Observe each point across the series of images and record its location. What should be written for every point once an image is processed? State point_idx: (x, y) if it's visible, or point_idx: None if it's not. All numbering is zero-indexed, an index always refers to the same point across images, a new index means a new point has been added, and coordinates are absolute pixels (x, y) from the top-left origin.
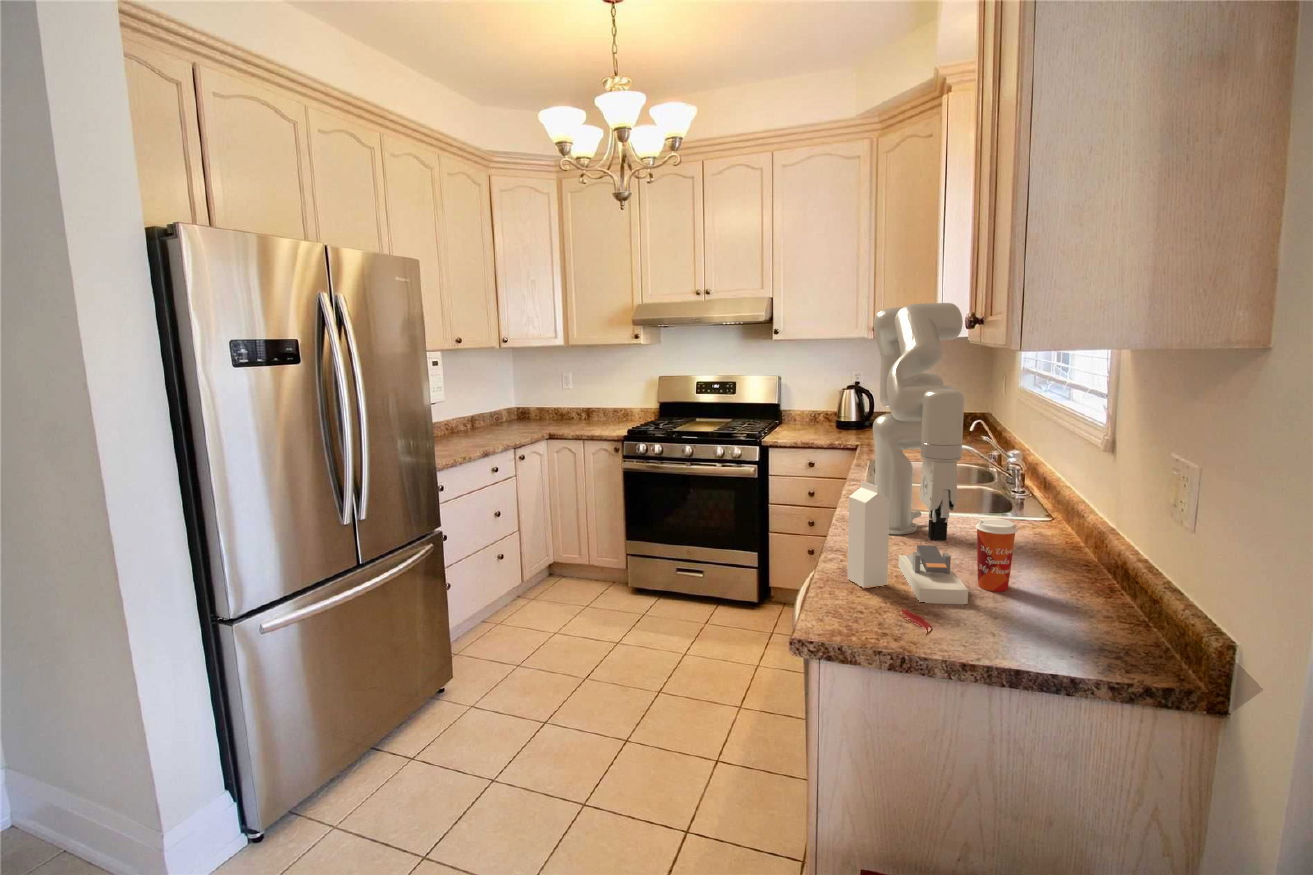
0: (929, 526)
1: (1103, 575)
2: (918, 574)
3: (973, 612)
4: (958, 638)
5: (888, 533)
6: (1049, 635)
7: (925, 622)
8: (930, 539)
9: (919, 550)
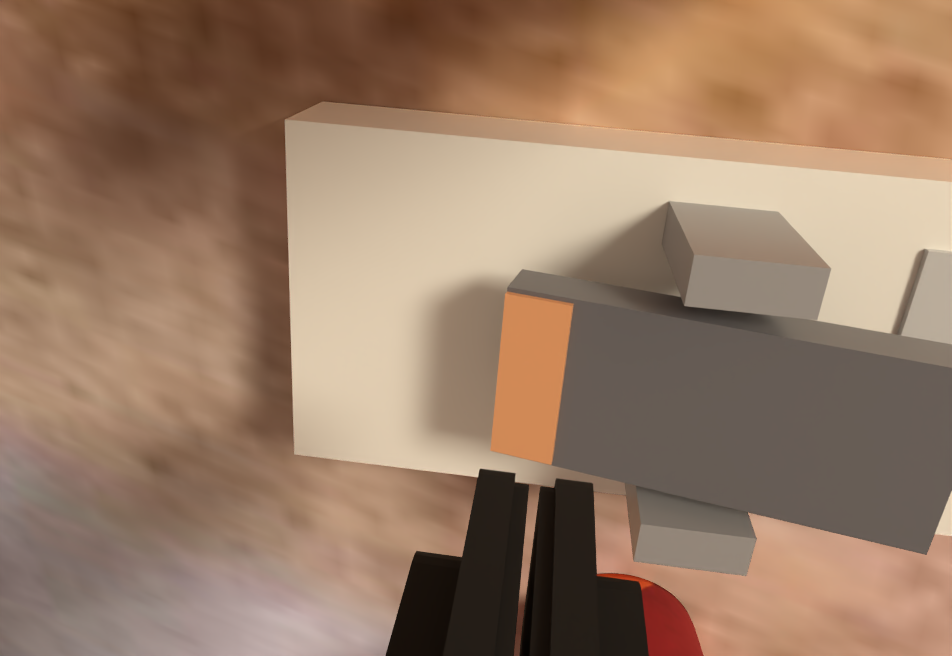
0: (548, 608)
1: None
2: (625, 218)
3: (213, 387)
4: None
5: None
6: (3, 593)
7: None
8: (480, 472)
9: (858, 352)
